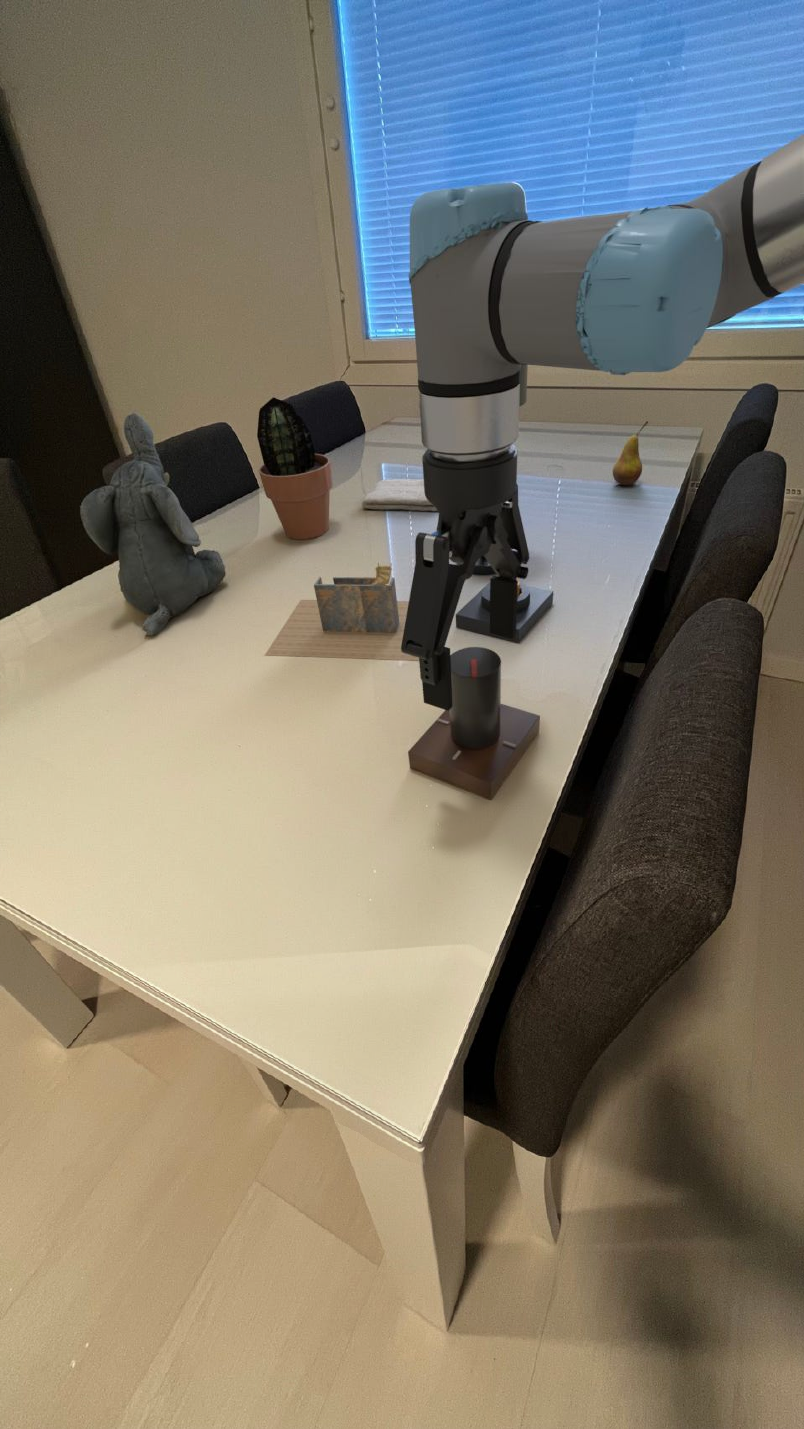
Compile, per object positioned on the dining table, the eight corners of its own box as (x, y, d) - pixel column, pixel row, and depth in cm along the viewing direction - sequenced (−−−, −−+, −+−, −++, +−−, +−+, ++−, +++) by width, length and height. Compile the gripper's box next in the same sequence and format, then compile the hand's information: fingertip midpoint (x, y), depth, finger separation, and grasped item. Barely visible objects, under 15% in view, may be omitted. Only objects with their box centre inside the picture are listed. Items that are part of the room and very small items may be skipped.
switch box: (552, 604, 91) (554, 580, 89) (518, 643, 84) (519, 618, 81) (493, 591, 96) (493, 568, 93) (455, 627, 88) (454, 603, 86)
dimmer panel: (539, 732, 69) (540, 714, 67) (491, 800, 62) (491, 782, 60) (462, 707, 74) (461, 690, 72) (409, 768, 66) (407, 750, 65)
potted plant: (351, 532, 120) (330, 393, 104) (287, 551, 116) (255, 409, 100) (325, 512, 130) (302, 383, 114) (265, 529, 125) (233, 397, 110)
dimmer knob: (450, 717, 69) (446, 645, 62) (498, 716, 68) (499, 643, 62) (450, 750, 64) (446, 675, 58) (501, 748, 64) (503, 673, 58)
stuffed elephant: (188, 562, 116) (136, 409, 99) (251, 591, 104) (204, 422, 87) (94, 603, 106) (17, 440, 89) (151, 640, 94) (75, 460, 77)
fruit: (617, 478, 130) (625, 417, 122) (644, 481, 126) (653, 420, 119) (606, 486, 126) (613, 425, 119) (633, 490, 123) (642, 427, 116)
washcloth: (442, 512, 123) (441, 497, 122) (360, 511, 128) (358, 496, 126) (454, 492, 132) (454, 477, 130) (377, 491, 137) (376, 477, 135)
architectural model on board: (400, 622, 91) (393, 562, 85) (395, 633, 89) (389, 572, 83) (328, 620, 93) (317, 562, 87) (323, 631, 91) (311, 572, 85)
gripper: (497, 404, 57) (495, 603, 70) (334, 495, 41) (370, 727, 55) (574, 408, 53) (556, 617, 67) (426, 509, 38) (441, 754, 51)
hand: (472, 667), depth 61 cm, fingers open, 13 cm apart
